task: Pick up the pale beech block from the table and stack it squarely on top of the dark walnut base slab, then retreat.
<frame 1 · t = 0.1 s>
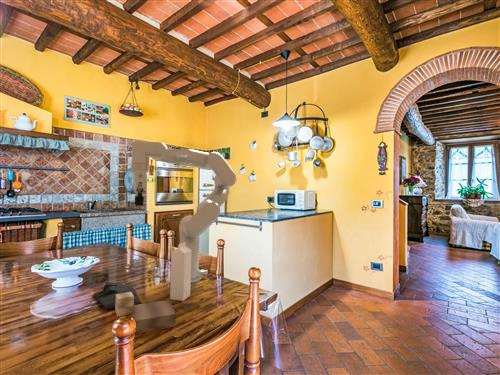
hand: (138, 205, 119), 37 cm above the table, tool pointing down, fingers open, 9 cm apart
walnut base: (153, 321, 85), on the table
dark slate chunk: (117, 300, 103), on the table
beech block: (124, 312, 91), on the table
milk: (180, 297, 106), on the table
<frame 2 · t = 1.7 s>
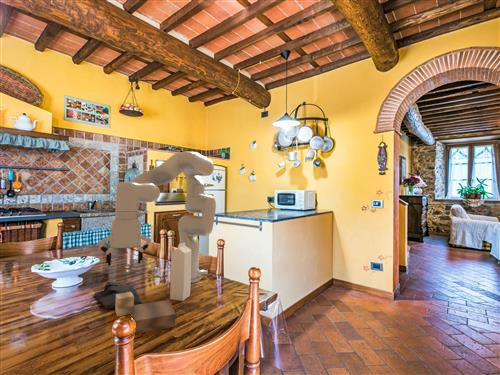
hand: (124, 263, 93), 17 cm above the table, tool pointing down, fingers open, 9 cm apart
nothing on the table moved.
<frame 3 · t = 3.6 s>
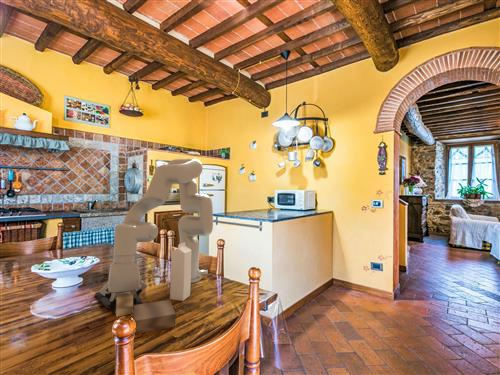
hand: (123, 309, 92), 1 cm above the table, tool pointing down, fingers closed on beech block, 5 cm apart
beech block: (123, 312, 91), on the table, touching gripper
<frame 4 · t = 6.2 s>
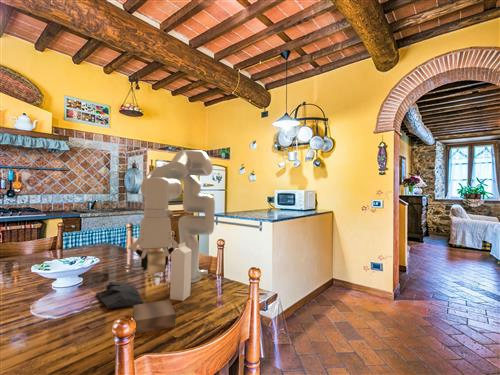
hand: (154, 268, 86), 18 cm above the table, tool pointing down, fingers closed on beech block, 5 cm apart
beech block: (155, 271, 85), point 17 cm above the table, touching gripper
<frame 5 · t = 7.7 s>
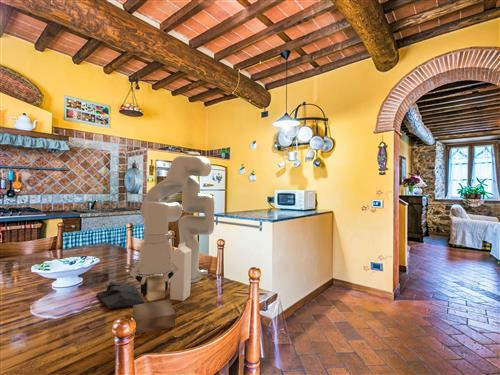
hand: (154, 293, 85), 9 cm above the table, tool pointing down, fingers closed on beech block, 5 cm apart
beech block: (154, 296, 85), point 9 cm above the table, touching gripper
when the fingers open (6 cm above the table, at t = 8.8 s): beech block drops 1 cm, resting on walnut base.
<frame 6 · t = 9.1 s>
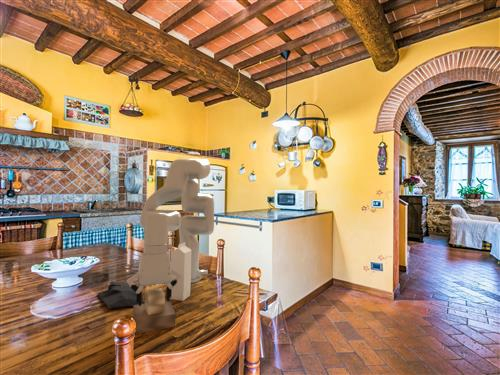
hand: (154, 301, 85), 6 cm above the table, tool pointing down, fingers open, 8 cm apart
beech block: (154, 310, 85), point 4 cm above the table, touching walnut base
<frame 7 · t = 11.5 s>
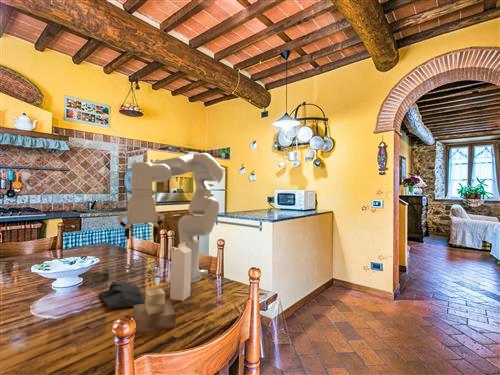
hand: (141, 237, 101), 25 cm above the table, tool pointing down, fingers open, 9 cm apart
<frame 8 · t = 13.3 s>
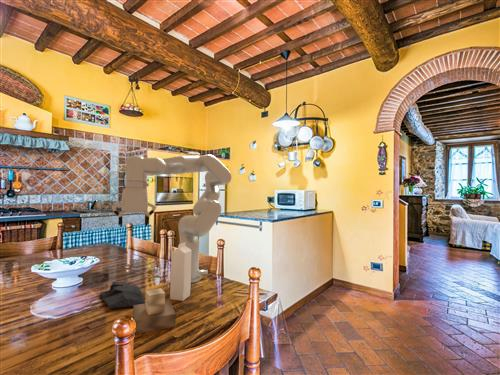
hand: (133, 226, 109), 28 cm above the table, tool pointing down, fingers open, 9 cm apart
at the end: beech block inside the target area on the walnut base (0.8 cm from its centre), point 4.0 cm above the walnut base's base; beech block tilted 0°; beech block touching walnut base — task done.
